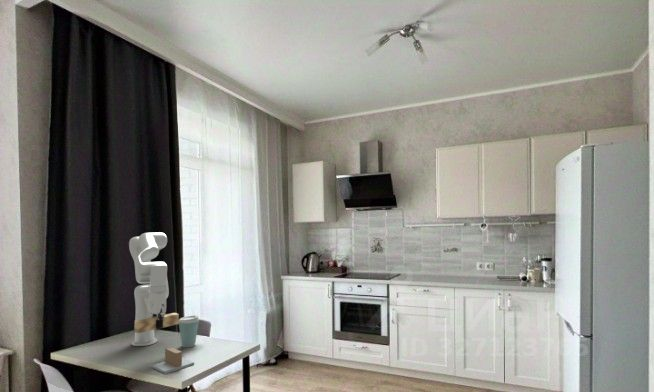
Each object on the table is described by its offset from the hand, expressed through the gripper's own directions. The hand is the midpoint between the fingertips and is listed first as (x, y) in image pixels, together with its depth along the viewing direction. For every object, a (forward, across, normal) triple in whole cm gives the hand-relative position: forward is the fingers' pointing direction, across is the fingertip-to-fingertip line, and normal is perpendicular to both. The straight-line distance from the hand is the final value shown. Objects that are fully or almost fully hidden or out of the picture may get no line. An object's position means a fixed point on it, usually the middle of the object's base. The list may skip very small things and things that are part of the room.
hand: (157, 326), depth 187 cm
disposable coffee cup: (+15, -5, +20) cm, 25 cm away
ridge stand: (+14, +17, 0) cm, 22 cm away
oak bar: (+1, 0, 0) cm, 1 cm away
